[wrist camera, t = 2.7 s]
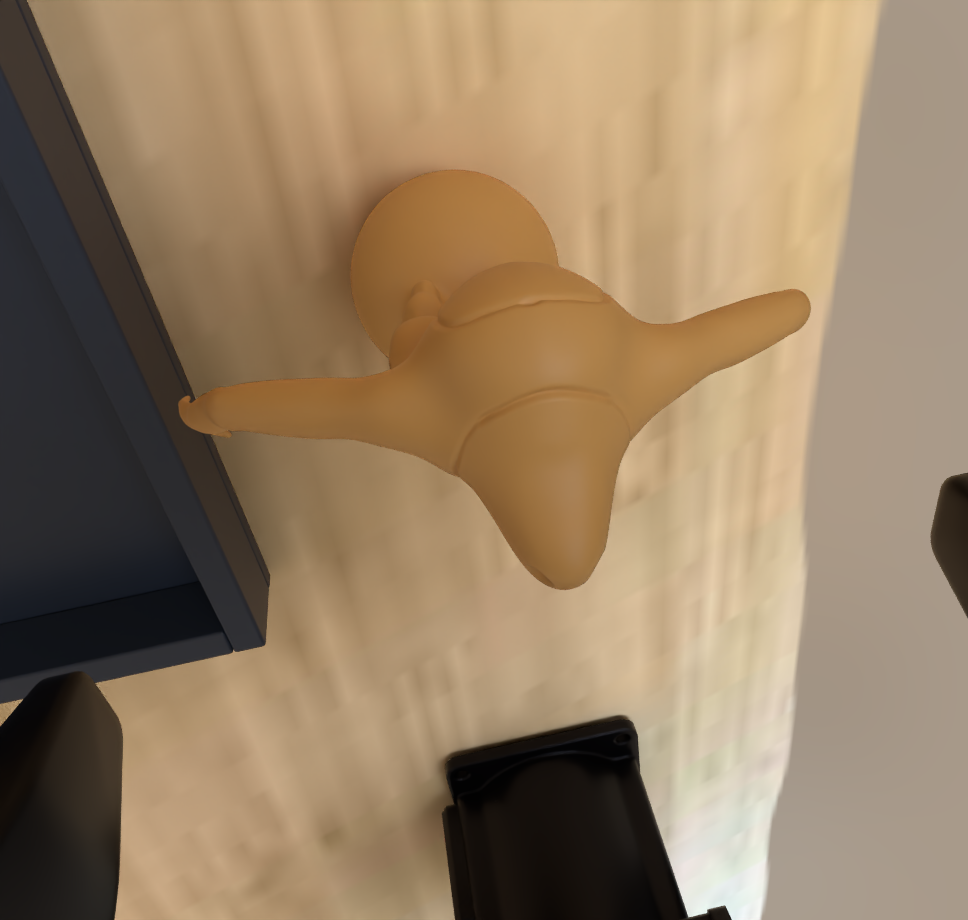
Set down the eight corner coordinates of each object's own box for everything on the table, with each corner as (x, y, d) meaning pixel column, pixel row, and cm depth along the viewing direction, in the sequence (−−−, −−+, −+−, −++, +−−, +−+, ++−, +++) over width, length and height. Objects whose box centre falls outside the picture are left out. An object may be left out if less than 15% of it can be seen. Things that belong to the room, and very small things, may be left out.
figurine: (270, 353, 19) (227, 880, 10) (185, 64, 16) (-13, 462, 6) (635, 291, 20) (929, 736, 10) (635, -4, 16) (1088, 270, 7)
